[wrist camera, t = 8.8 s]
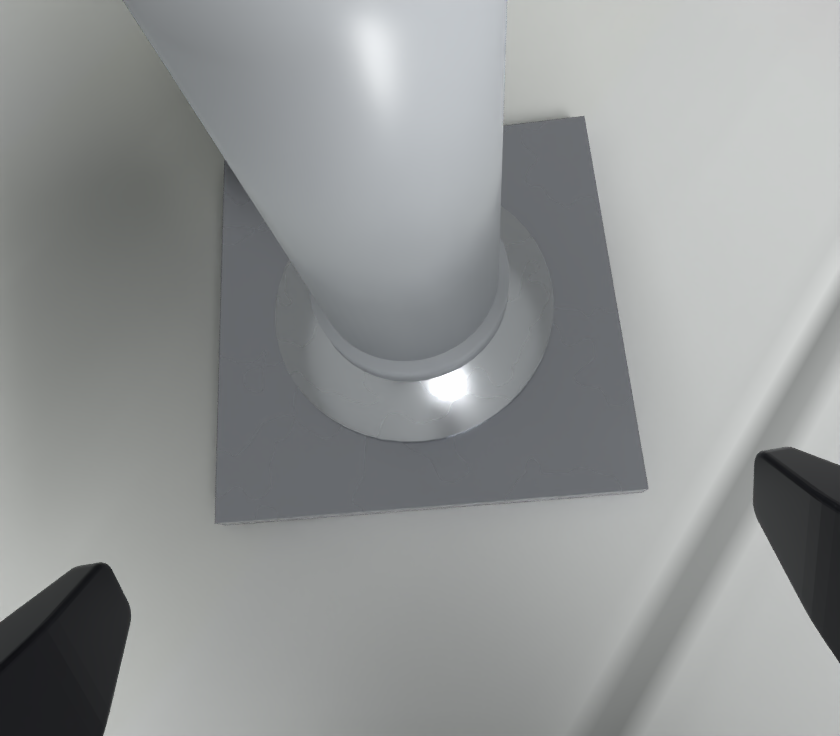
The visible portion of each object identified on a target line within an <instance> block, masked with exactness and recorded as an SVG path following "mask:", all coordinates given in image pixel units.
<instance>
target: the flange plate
mask: <svg viewBox="0 0 840 736" xmlns="http://www.w3.org/2000/svg"><path fill="white" fill-rule="evenodd" d="M500 237H501V239H502V241H503V244H504V246H505V250H506V253H507V256H508V263H509V291H508V300H507V307H506V310H505V314H504V317H503V320H502V322H501V324H500V326H499V328H498V330H497V332H496V334H495V335H494V337H493V338H492V340H491V341H490V342H489V344H488V345H487V346H486V347H485V348H484V350H483V351H482V352H480V353H479V354H478V355H477V356H476V357H475V358H474V359H473V360H471V361H470V362H468V363H467V364H465V365H464V366H463V367H461V368H459V369H457V370H455V371H453V372H451V373H449V374H446V375H443V376H441V377H437V378H433V379H429V380H423V381H414V382H405V381H394V380H387V379H384V378H380V377H376V376H374V375H371V374H369V373H367V372H364V371H363V370H361V369H359V368H358V367H356V366H354V365H353V364H351V363H350V362H349V361H348V360H346V359H345V358H344V357H343V356H342V355H341V354H340V353H339V352H338V351H337V350H336V348H335V347H334V346H333V344H332V343H331V341H330V340H329V338H328V337H327V336H326V334H325V333H324V331H323V330H322V328H321V327H320V325H319V323H318V321H317V319H316V317H315V314H314V311H313V308H312V305H311V300H310V295H309V289H308V287H307V286H306V284H305V283H304V281H303V279H302V278H301V276H300V275H299V273H298V272H297V270H296V269H295V267H294V265H293V264H292V262H291V261H290V259H289V258H288V256H287V255H286V253H285V252H284V250H283V248H282V247H281V245H280V244H279V242H278V241H277V239H276V238H275V236H274V234H273V233H272V231H271V230H270V228H269V227H268V225H267V224H266V222H265V220H264V219H263V217H262V216H261V214H260V213H259V211H258V210H257V208H256V206H255V205H254V203H253V202H252V200H251V199H250V197H249V196H248V194H247V192H246V191H245V189H244V188H243V186H242V185H241V183H240V182H239V180H238V179H237V177H236V175H235V174H234V172H233V171H232V169H231V168H230V166H229V165H228V163H227V161H226V160H225V162H224V200H223V237H222V275H221V312H220V350H219V387H218V425H217V462H216V500H215V523H216V524H222V525H234V524H246V523H259V522H272V521H285V520H297V519H310V518H323V517H335V516H348V515H361V514H374V513H386V512H399V511H412V510H425V509H437V508H450V507H463V506H475V505H488V504H501V503H514V502H526V501H539V500H552V499H565V498H577V497H590V496H603V495H615V494H628V493H641V492H644V491H646V490H648V483H647V477H646V472H645V466H644V460H643V454H642V448H641V443H640V437H639V431H638V425H637V419H636V414H635V408H634V402H633V396H632V390H631V385H630V379H629V373H628V367H627V361H626V356H625V350H624V344H623V338H622V332H621V326H620V321H619V315H618V309H617V303H616V297H615V292H614V286H613V280H612V274H611V268H610V263H609V257H608V251H607V245H606V239H605V234H604V228H603V222H602V216H601V210H600V205H599V199H598V193H597V187H596V181H595V176H594V170H593V164H592V158H591V152H590V147H589V141H588V135H587V129H586V123H585V118H584V116H580V117H572V118H563V119H555V120H547V121H539V122H530V123H522V124H514V125H506V126H503V152H502V184H501V216H500Z"/></svg>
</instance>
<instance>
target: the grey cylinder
mask: <svg viewBox="0 0 840 736" xmlns="http://www.w3.org/2000/svg"><path fill="white" fill-rule="evenodd" d="M123 1H124V3H125V5H126V6H127V8H128V9H129V11H130V12H131V14H132V15H133V17H134V19H135V20H136V22H137V23H138V25H139V26H140V28H141V29H142V31H143V33H144V34H145V36H146V37H147V39H148V40H149V42H150V43H151V45H152V47H153V48H154V50H155V51H156V53H157V54H158V56H159V57H160V59H161V60H162V62H163V64H164V65H165V67H166V68H167V70H168V71H169V73H170V74H171V76H172V78H173V79H174V81H175V82H176V84H177V85H178V87H179V88H180V90H181V92H182V93H183V95H184V96H185V98H186V99H187V101H188V102H189V104H190V106H191V107H192V109H193V110H194V112H195V113H196V115H197V116H198V118H199V120H200V121H201V123H202V124H203V126H204V127H205V129H206V130H207V132H208V133H209V135H210V137H211V138H212V140H213V141H214V143H215V144H216V146H217V147H218V149H219V151H220V152H221V154H222V155H223V157H224V158H225V160H226V161H227V163H228V165H229V166H230V168H231V169H232V171H233V172H234V174H235V175H236V177H237V179H238V180H239V182H240V183H241V185H242V186H243V188H244V189H245V191H246V192H247V194H248V196H249V197H250V199H251V200H252V202H253V203H254V205H255V206H256V208H257V210H258V211H259V213H260V214H261V216H262V217H263V219H264V220H265V222H266V224H267V225H268V227H269V228H270V230H271V231H272V233H273V234H274V236H275V238H276V239H277V241H278V242H279V244H280V245H281V247H282V248H283V250H284V252H285V253H286V255H287V256H288V258H289V259H290V261H291V262H292V264H293V265H294V267H295V269H296V270H297V272H298V273H299V275H300V276H301V278H302V279H303V281H304V283H305V284H306V286H307V287H308V289H309V295H310V300H311V305H312V308H313V311H314V314H315V317H316V319H317V321H318V323H319V325H320V327H321V328H322V330H323V331H324V333H325V334H326V336H327V337H328V338H329V340H330V341H331V343H332V344H333V346H334V347H335V348H336V350H337V351H338V352H339V353H340V354H341V355H342V356H343V357H344V358H345V359H346V360H348V361H349V362H350V363H351V364H353V365H354V366H356V367H358V368H359V369H361V370H363V371H364V372H367V373H369V374H371V375H374V376H376V377H380V378H384V379H387V380H394V381H405V382H414V381H423V380H429V379H433V378H437V377H441V376H443V375H446V374H449V373H451V372H453V371H455V370H457V369H459V368H461V367H463V366H464V365H465V364H467V363H468V362H470V361H471V360H473V359H474V358H475V357H476V356H477V355H478V354H479V353H480V352H482V351H483V350H484V348H485V347H486V346H487V345H488V344H489V342H490V341H491V340H492V338H493V337H494V335H495V334H496V332H497V330H498V328H499V326H500V324H501V322H502V320H503V317H504V314H505V310H506V307H507V300H508V291H509V263H508V256H507V253H506V250H505V246H504V244H503V241H502V239H501V237H500V216H501V184H502V152H503V120H504V88H505V56H506V24H507V0H123Z"/></svg>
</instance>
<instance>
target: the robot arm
mask: <svg viewBox="0 0 840 736" xmlns="http://www.w3.org/2000/svg"><path fill="white" fill-rule="evenodd" d="M753 506H754V511H755V514H756V517H757V519H758V522H759V523H760V525H761V527H762V529H763V531H764V533H765V535H766V537H767V539H768V540H769V542H770V544H771V546H772V548H773V550H774V552H775V554H776V556H777V557H778V559H779V561H780V563H781V565H782V567H783V569H784V571H785V573H786V575H787V576H788V578H789V580H790V582H791V584H792V586H793V588H794V590H795V592H796V593H797V595H798V597H799V599H800V601H801V603H802V605H803V606H804V608H805V610H806V612H807V614H808V615H809V617H810V619H811V621H812V622H813V624H814V625H815V627H816V628H817V630H818V631H819V633H820V635H821V636H822V638H823V639H824V641H825V642H826V644H827V645H828V647H829V648H830V649H831V651H832V652H833V654H834V655H835V657H836V658H837V660H838V661H839V663H840V465H837V464H835V463H832V462H830V461H827V460H824V459H822V458H819V457H816V456H814V455H811V454H808V453H806V452H803V451H801V450H798V449H795V448H792V447H782V448H776V449H770V450H764V451H761V452H759V453H758V454H757V455H756V458H755V463H754V487H753ZM130 622H131V610H130V606H129V603H128V601H127V599H126V597H125V595H124V593H123V591H122V589H121V587H120V585H119V583H118V581H117V579H116V577H115V575H114V573H113V571H112V569H111V568H110V566H108V565H107V564H106V563H102V562H99V563H93V564H87V565H81V566H77V567H75V568H73V569H71V570H70V571H68V572H67V573H66V574H64V575H63V576H62V577H60V578H59V579H58V580H56V581H55V582H54V583H52V584H51V585H50V586H48V587H47V588H46V589H44V590H43V591H41V592H40V593H39V594H37V595H36V596H35V597H33V598H32V599H31V600H29V601H28V602H27V603H25V604H24V605H23V606H21V607H20V608H19V609H17V610H16V611H15V612H13V613H12V614H11V615H9V616H8V617H7V618H5V619H4V620H3V621H1V622H0V736H103V734H104V731H105V727H106V724H107V720H108V716H109V712H110V708H111V704H112V700H113V696H114V691H115V687H116V683H117V678H118V674H119V670H120V665H121V661H122V657H123V653H124V648H125V644H126V640H127V635H128V631H129V627H130Z"/></svg>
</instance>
